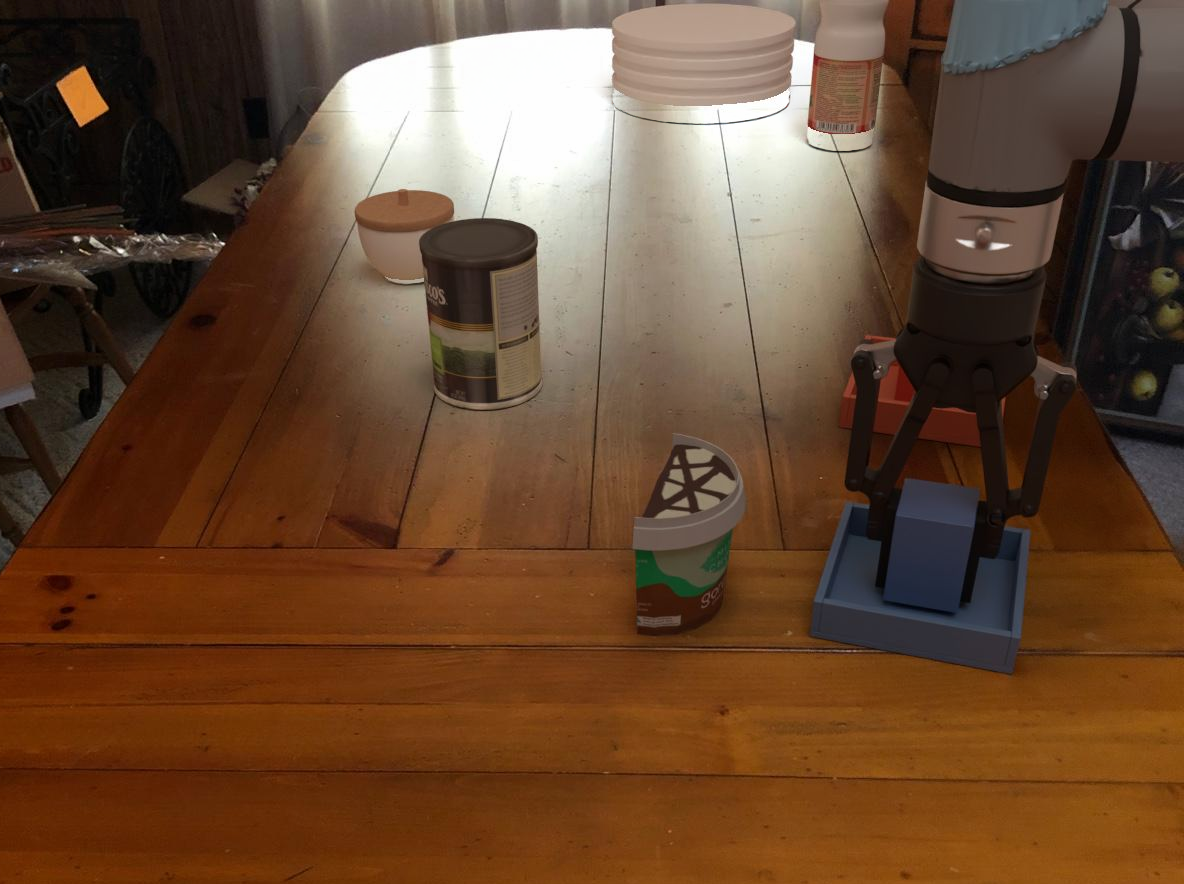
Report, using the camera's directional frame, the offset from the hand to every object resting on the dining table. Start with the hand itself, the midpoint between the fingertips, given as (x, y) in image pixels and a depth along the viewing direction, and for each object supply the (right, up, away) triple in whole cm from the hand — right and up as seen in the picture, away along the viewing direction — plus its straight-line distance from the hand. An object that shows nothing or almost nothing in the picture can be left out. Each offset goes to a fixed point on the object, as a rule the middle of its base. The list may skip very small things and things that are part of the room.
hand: (924, 583), depth 85 cm
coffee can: (-33, +19, +29) cm, 48 cm away
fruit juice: (+13, +64, +89) cm, 110 cm away
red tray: (+7, +16, +24) cm, 30 cm away
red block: (+7, +17, +24) cm, 30 cm away
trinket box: (-43, +35, +52) cm, 76 cm away
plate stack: (-5, +78, +109) cm, 134 cm away
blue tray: (0, -1, +1) cm, 1 cm away
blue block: (0, 0, 0) cm, 0 cm away
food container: (-16, -1, +1) cm, 16 cm away
